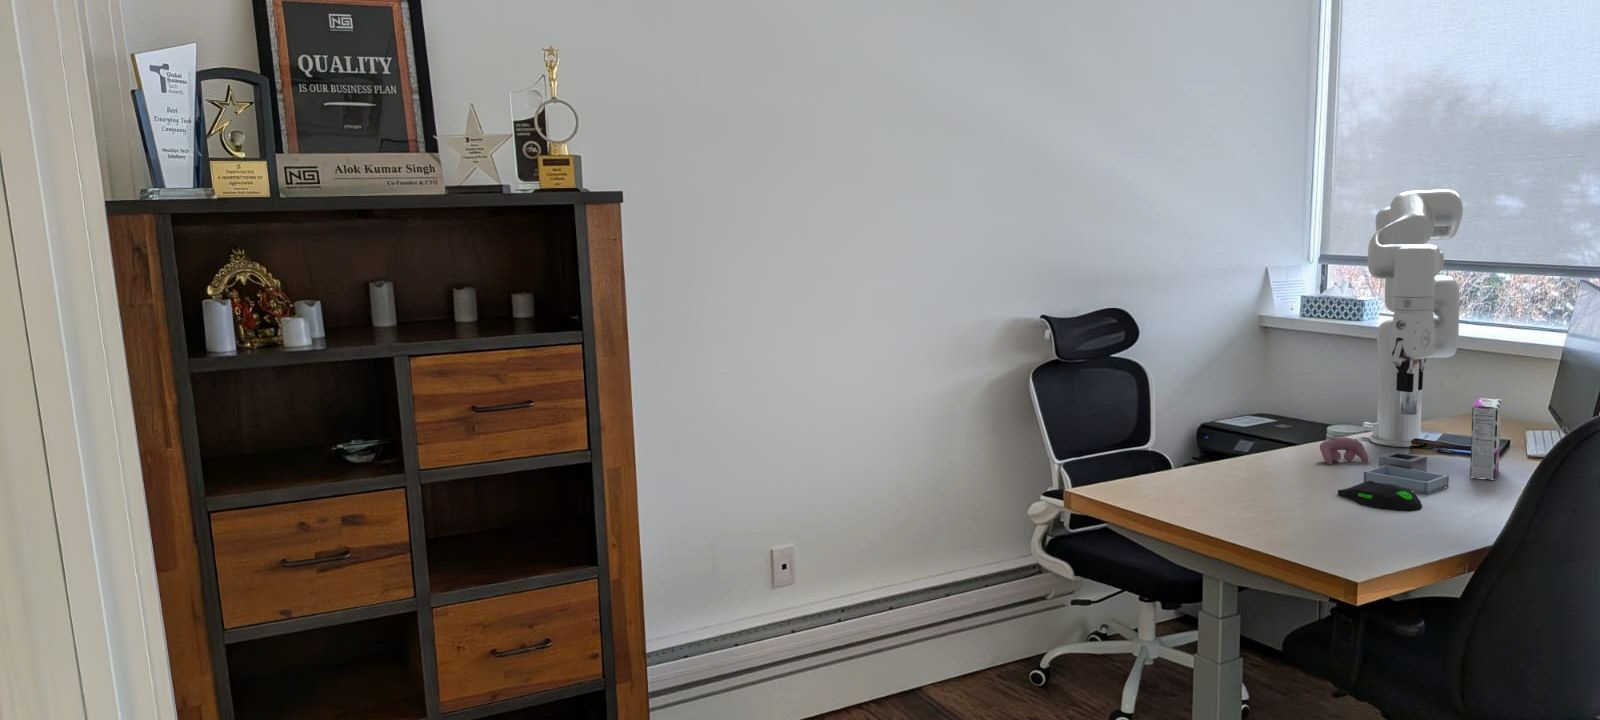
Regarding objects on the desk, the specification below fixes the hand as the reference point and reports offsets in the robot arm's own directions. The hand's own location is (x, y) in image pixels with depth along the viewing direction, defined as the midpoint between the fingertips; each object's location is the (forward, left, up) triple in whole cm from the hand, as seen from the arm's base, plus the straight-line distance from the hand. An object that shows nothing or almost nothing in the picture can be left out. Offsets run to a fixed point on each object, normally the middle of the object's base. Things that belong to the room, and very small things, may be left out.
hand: (1409, 389), depth 221 cm
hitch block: (-5, +9, -21) cm, 23 cm away
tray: (0, 0, -21) cm, 21 cm away
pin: (0, 0, -5) cm, 5 cm away
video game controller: (-19, +11, -21) cm, 31 cm away
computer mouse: (+3, -16, -22) cm, 27 cm away
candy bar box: (+7, +21, -21) cm, 31 cm away
